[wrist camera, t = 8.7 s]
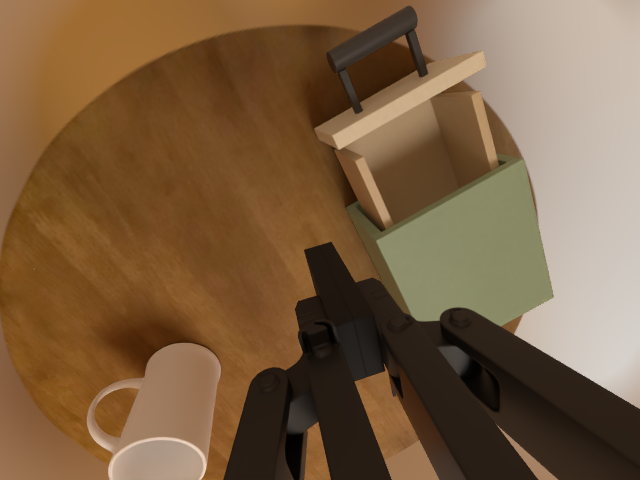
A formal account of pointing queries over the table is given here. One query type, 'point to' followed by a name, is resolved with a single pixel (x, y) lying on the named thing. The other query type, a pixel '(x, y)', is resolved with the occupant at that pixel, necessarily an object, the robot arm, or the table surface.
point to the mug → (165, 417)
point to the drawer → (408, 128)
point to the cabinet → (465, 250)
